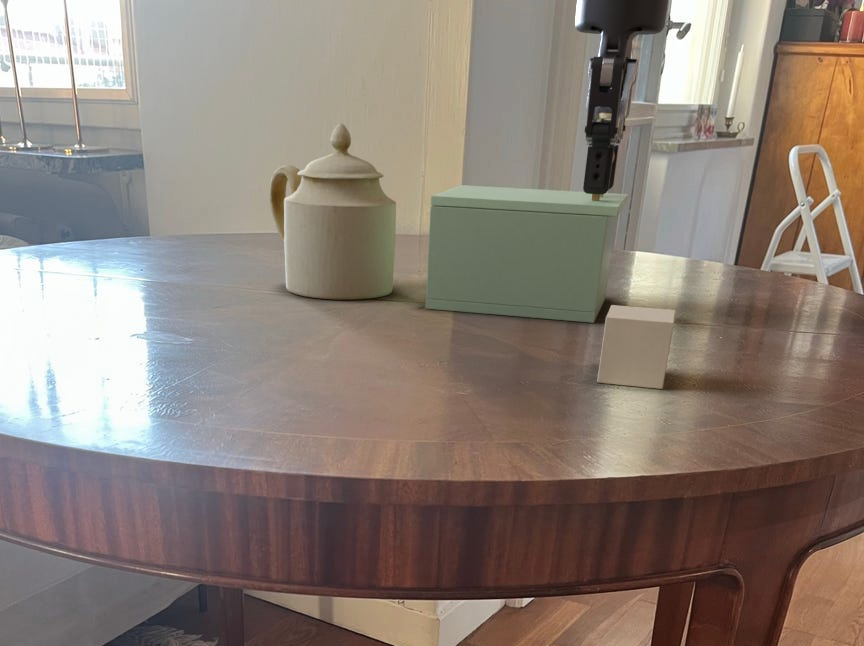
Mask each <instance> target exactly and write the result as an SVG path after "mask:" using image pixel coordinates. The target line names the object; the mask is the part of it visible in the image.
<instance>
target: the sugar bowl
mask: <svg viewBox="0 0 864 646" xmlns="http://www.w3.org/2000/svg"><path fill="white" fill-rule="evenodd" d="M351 143H352V138H351V134H350V131H349V129H348V128H347V127H346V126H345V124H344V123H343V122H340V123H339V124H337V125H336V126H335V128H334V130H333V131H332V134H331V137H330V145H331V146H332V147H333V150H334V151H333V153H331V154H328V155H325V156H322V157H319V158H317V159H314V160H312V161H310V162H308V164H307V165H306V167H305V168H304V169H300V168H298V167H296V166H294V165H291V164H290V165H289V164H285V165H281V166H280V167H278V168H277V169H276V170H275V171H274V172H273V173H272V176H271V178H270V185H269V202H270V203H269V204H270V210H271V215H272V219H273V223H274V227H275V229H276V231H277V233H278V235H279V237H280V239H281V240H282V243H283V244H284V267H285V269H284V270H285V287H286V290H287V291H288V292H289V293H292V294H293V295H297V296H301V297H307V298H313V299H323V300H368V299H377V298H381V297H385V296H388V295H390V294H391V293H392V292H393V290H394V289H393V287H394V272H395V271H394V270H395V256H396V238H397V237H396V233H397V202H396V201H395V200H393V199H392V198H391V197H389V196H388V195H387V194H386V193H385V192H384V190H383V188H382V186H381V183H380V179H382V178H384V176H385V175H384V174H382V173H381V172H379V171H377V169H376V167H375V165H373V164H372V163H371V162H369V161H367V160H364V159H362V158H359V157H357V156H355V155H352V154H350V153H349V152H348V151H349V148H350V146H351ZM288 183H289V187H290V191H291V194H290V195H288V196H287V184H288Z"/></svg>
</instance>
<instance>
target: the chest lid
mask: <svg viewBox="0 0 864 646" xmlns="http://www.w3.org/2000/svg"><path fill="white" fill-rule="evenodd" d="M614 158H615V154H613V161H614ZM612 163H613V162H612ZM628 198H629V194H628V193H613V192H612V193H611V192H607V193H605V194H587V193H585V192H584V191H576V190H560V189H559V190H558V189H557V190H556V189H540V188H538V189H536V188H519V187H502V186H501V187H500V186H485V185H465V184H461V185H457V186H455V187H452V188H449V189H446V190H443V191H441V192H438V193H435V194H432V195H430V206H433V205H434V206H451V207H467V208H484V209H501V210H517V211H534V212H550V213H567V214H584V215H600V216H617V217H618V216H619V215H620V214H621V212H622V210H623V209H624V208H625V206H626V205H627V203H628V200H629V199H628Z"/></svg>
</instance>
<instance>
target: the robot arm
mask: <svg viewBox="0 0 864 646" xmlns="http://www.w3.org/2000/svg"><path fill="white" fill-rule="evenodd" d="M668 6H669V0H576V9H575V18H574V27H575V29H576V31H578V32H580V33H583V34H593V35H601V39H600V43H599V50H598V56H594V57H590V59H589V62H588V63H589V64H588V70H587V78H588V82H589V83H588V91H587V97H586V104H585V114H586V117H587V118H586V125H585V127H584V133H585V142H586V146H587V153H586V160H585V170H584V178H583V186H582V189H583V192H585V193H587V194H605V193H608V192H609V190H611V189H612V188H613V187H614V184H615V177H616V169H617V162H618V157H619V156H618V155H619V147H620V146H619V144H620V145H621V143H622V140H623V139H624V132H626V127H627V126H626V119H627V118H628V117H629V115H630V113H631V108H632V99H633V92H634V84H636V82H637V78H638V74H639V67H640V66H639V64H640V60H639V59H638V58H632V53H633V41H634V39H635V38H636V37H637V36H639V35H643V36H646V35H647V36H648V35H657V34H660V33H661V32H662V31H664V29H665V26H666V22H667V21H666V19H667V14H668ZM613 154H615V158H614V161H613ZM612 162H613V163H612Z"/></svg>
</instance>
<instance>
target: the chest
mask: <svg viewBox="0 0 864 646" xmlns="http://www.w3.org/2000/svg"><path fill="white" fill-rule="evenodd" d="M429 209H430V210H429V226H428V227H429V228H428V229H429V230H428V233H429V234H428V247H427V248H428V250H427V269H426V271H427V272H426V289H425V290H426V293H425V309H426V310H436V311H437V310H438V311H449V312H461V313H473V314H482V315H483V314H484V315H496V316H507V317H519V318H533V319H541V320H554V321H568V322H577V323H579V322H580V323H590V324H594V323H595V321H596V319H597V317H598V315H599V313H600V311H601V308H602V306H603V304H604V302H605V300H606V299H607V298H606V297H607V291H608V290H607V289H608V281H609V277H610V276H609V275H610V269H611V261H612V253H613V246H614V238H615V231H616V225H617V217H618V216H600V215H584V214H567V213H550V212H534V211H517V210H501V209H484V208H467V207H451V206H434V205H430V207H429Z"/></svg>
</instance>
